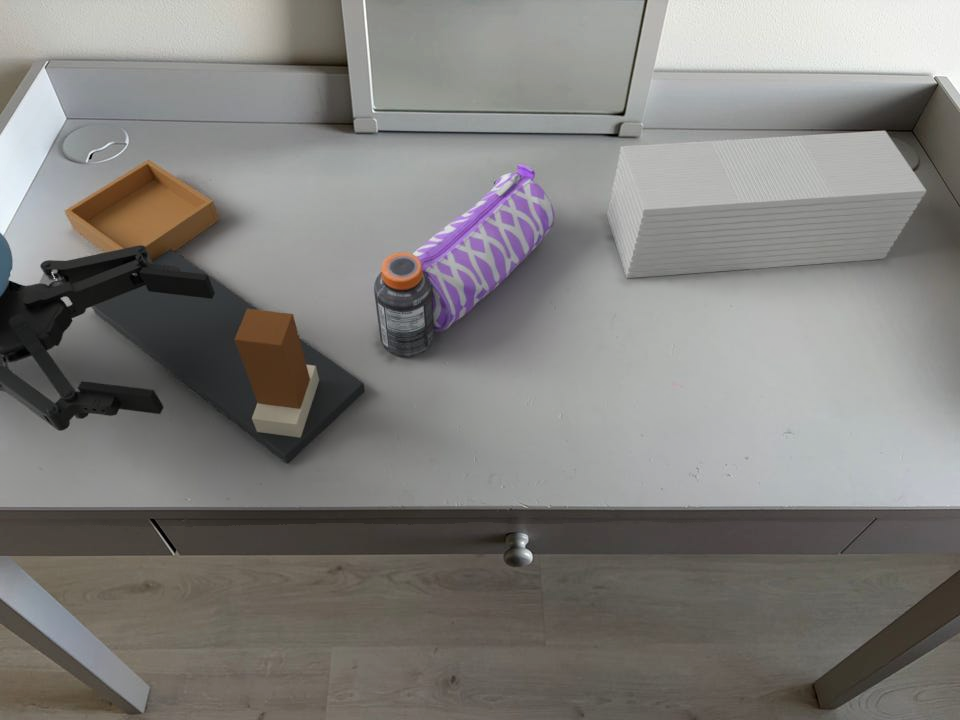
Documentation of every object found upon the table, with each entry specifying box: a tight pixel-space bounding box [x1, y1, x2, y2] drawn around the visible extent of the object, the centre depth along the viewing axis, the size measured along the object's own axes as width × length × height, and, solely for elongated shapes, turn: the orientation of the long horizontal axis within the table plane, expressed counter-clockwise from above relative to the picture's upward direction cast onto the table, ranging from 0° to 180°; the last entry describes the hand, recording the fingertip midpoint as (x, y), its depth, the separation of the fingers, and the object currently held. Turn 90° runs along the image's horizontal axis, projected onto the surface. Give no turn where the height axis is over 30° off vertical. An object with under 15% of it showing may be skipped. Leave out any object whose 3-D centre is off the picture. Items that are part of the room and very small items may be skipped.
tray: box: [63, 159, 220, 275], centre depth 94 cm, size 12×12×3 cm
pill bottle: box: [373, 251, 435, 358], centre depth 81 cm, size 6×6×11 cm
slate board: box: [91, 249, 365, 464], centre depth 83 cm, size 11×30×2 cm, turn 52°
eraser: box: [235, 308, 319, 438], centre depth 73 cm, size 7×4×12 cm, turn 172°
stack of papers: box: [606, 130, 927, 279], centre depth 92 cm, size 32×11×11 cm, turn 97°
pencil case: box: [412, 162, 555, 332], centre depth 87 cm, size 22×9×10 cm, turn 145°
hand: (185, 341), depth 72 cm, fingers open, 13 cm apart
